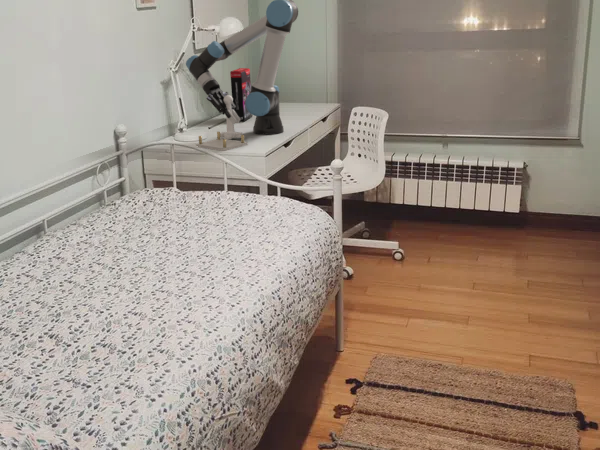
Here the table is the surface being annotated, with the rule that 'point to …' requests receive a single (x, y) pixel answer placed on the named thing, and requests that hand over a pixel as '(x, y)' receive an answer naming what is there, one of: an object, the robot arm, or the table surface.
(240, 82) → the graphics card box
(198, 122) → the table surface
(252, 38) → the robot arm
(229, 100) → the joystick
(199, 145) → the plate
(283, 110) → the table surface
